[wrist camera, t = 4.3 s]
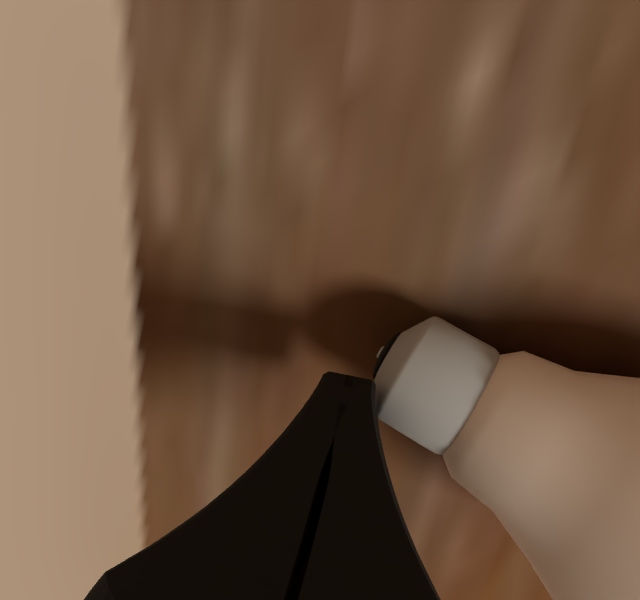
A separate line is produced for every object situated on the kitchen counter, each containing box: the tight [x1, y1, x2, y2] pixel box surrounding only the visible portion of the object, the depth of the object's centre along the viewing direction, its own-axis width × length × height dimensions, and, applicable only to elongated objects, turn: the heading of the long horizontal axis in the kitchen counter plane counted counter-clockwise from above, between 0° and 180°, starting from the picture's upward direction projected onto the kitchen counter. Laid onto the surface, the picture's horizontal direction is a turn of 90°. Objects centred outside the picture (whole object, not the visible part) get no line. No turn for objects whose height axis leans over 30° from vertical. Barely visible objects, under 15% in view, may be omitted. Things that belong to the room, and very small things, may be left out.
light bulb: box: [373, 316, 640, 600], centre depth 12 cm, size 7×7×11 cm
